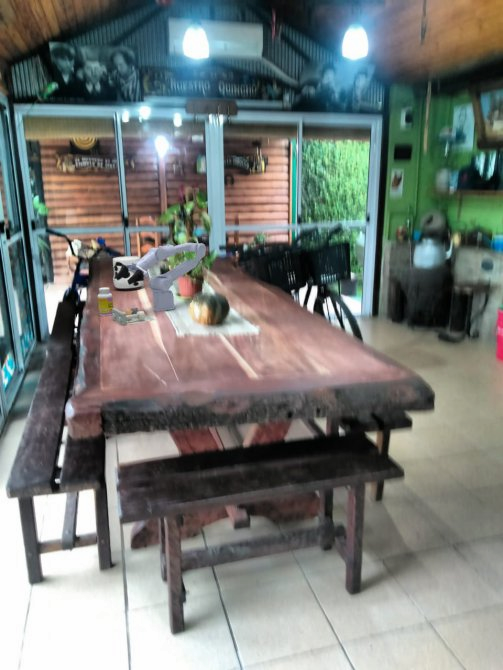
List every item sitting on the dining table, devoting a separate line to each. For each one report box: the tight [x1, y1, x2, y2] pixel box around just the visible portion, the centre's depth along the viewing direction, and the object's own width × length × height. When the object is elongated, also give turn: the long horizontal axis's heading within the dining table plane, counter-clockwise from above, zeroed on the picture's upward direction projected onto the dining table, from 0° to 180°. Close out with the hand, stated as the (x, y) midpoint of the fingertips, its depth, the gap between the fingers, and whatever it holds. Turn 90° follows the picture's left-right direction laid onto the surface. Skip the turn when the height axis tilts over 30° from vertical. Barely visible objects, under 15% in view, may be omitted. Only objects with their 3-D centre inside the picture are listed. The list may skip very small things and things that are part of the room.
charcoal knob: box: [112, 307, 139, 318], centre depth 235 cm, size 11×4×4 cm, turn 123°
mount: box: [111, 307, 156, 326], centre depth 233 cm, size 15×14×6 cm
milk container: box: [112, 255, 145, 291], centre depth 304 cm, size 17×17×18 cm
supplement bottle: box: [97, 287, 114, 317], centre depth 243 cm, size 7×7×13 cm
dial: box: [124, 308, 132, 321], centre depth 231 cm, size 2×2×5 cm
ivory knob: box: [119, 310, 146, 321], centre depth 228 cm, size 11×4×4 cm, turn 123°
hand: (122, 280), depth 233 cm, fingers open, 7 cm apart
